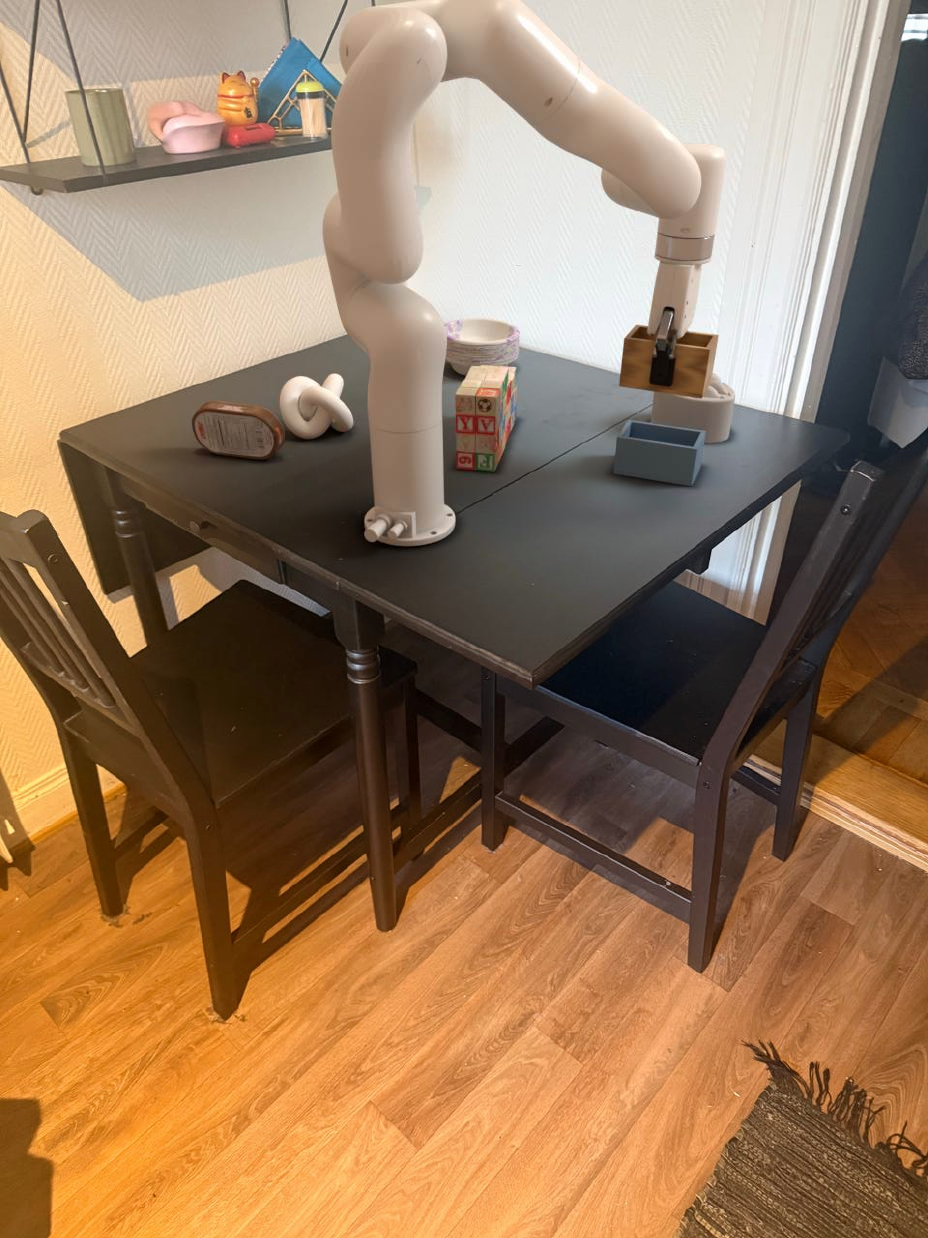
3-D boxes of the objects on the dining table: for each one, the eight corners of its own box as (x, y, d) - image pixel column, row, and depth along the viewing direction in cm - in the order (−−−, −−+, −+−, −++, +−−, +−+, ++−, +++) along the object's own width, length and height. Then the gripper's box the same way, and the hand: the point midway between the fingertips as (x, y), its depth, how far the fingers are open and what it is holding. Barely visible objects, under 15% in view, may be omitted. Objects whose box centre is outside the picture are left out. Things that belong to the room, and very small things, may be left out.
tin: (288, 456, 148) (282, 406, 143) (280, 464, 145) (273, 413, 140) (203, 446, 151) (194, 396, 146) (193, 454, 149) (184, 404, 144)
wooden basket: (710, 382, 136) (718, 334, 132) (702, 398, 130) (710, 349, 126) (630, 371, 139) (636, 324, 135) (618, 386, 134) (624, 338, 130)
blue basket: (700, 467, 144) (706, 430, 140) (691, 486, 138) (697, 449, 135) (624, 455, 147) (628, 419, 144) (613, 473, 142) (616, 436, 138)
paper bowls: (528, 379, 176) (529, 337, 171) (450, 386, 173) (449, 344, 168) (506, 353, 188) (507, 314, 183) (433, 359, 185) (432, 319, 180)
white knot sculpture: (298, 414, 162) (292, 364, 157) (365, 418, 160) (361, 367, 155) (278, 440, 153) (271, 388, 148) (348, 444, 151) (344, 392, 146)
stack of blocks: (481, 416, 161) (481, 346, 154) (516, 419, 160) (518, 348, 153) (455, 469, 143) (454, 392, 136) (495, 472, 142) (496, 395, 135)
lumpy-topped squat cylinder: (680, 410, 163) (686, 361, 158) (743, 431, 155) (752, 381, 150) (642, 425, 157) (647, 376, 152) (705, 449, 149) (713, 397, 144)
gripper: (669, 232, 132) (654, 354, 142) (641, 258, 119) (626, 391, 129) (722, 236, 130) (703, 361, 140) (700, 264, 116) (680, 399, 126)
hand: (666, 375), depth 134 cm, fingers closed on wooden basket, 7 cm apart
